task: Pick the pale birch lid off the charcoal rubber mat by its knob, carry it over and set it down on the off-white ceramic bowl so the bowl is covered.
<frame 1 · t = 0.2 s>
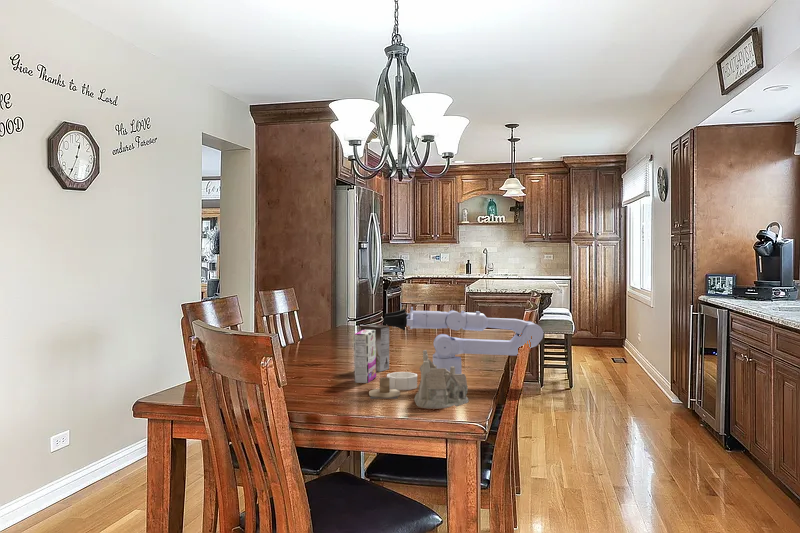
hand: (384, 318, 195), 21 cm above the table, fingers open, 7 cm apart
mat: (384, 395, 178), on the table
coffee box: (375, 369, 221), on the table
candy bar box: (365, 381, 201), on the table
lid: (384, 394, 178), resting on mat
bowl: (402, 387, 189), on the table
ceramic cottage: (441, 403, 170), on the table
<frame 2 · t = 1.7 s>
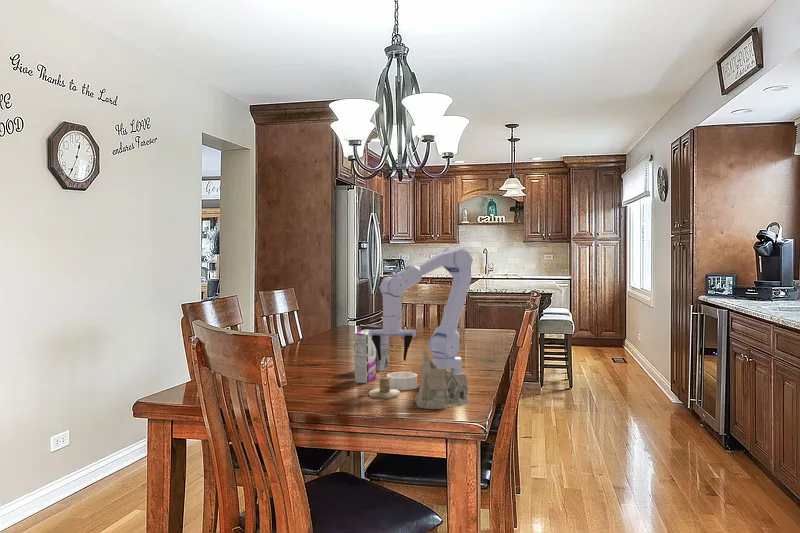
hand: (392, 359, 185), 9 cm above the table, fingers open, 7 cm apart
nothing on the table moved.
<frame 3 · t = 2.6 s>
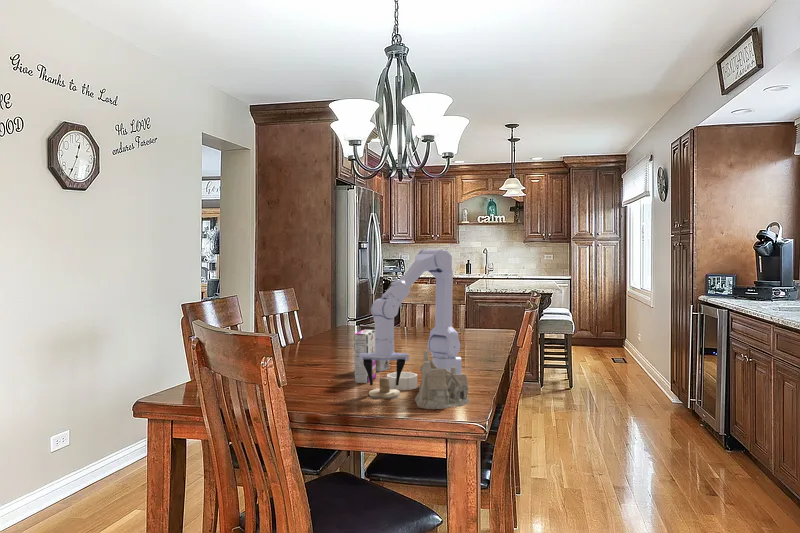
hand: (384, 384, 178), 3 cm above the table, fingers open, 7 cm apart
nothing on the table moved.
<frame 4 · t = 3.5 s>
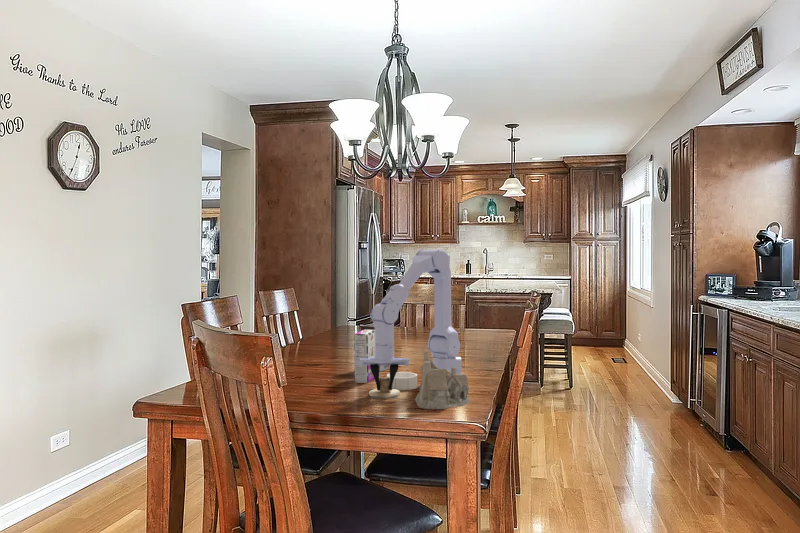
hand: (384, 389, 178), 2 cm above the table, fingers closed on lid, 3 cm apart
lid: (384, 394, 178), resting on mat, touching gripper
everything else where it was.
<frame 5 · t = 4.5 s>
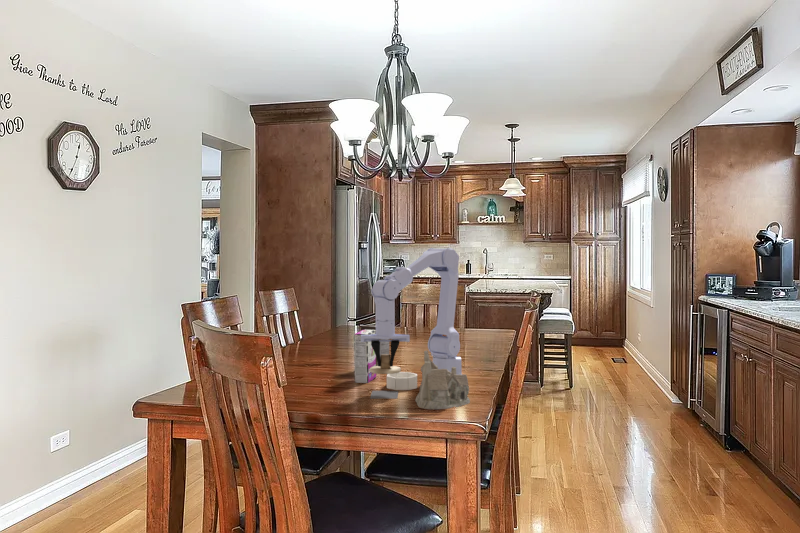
hand: (385, 365, 179), 9 cm above the table, fingers closed on lid, 3 cm apart
lid: (385, 370, 179), point 7 cm above the table, touching gripper
everything else where it was.
when the fingers open (7 cm above the table, at t = 5.8 s): lid stays where it is, resting on bowl.
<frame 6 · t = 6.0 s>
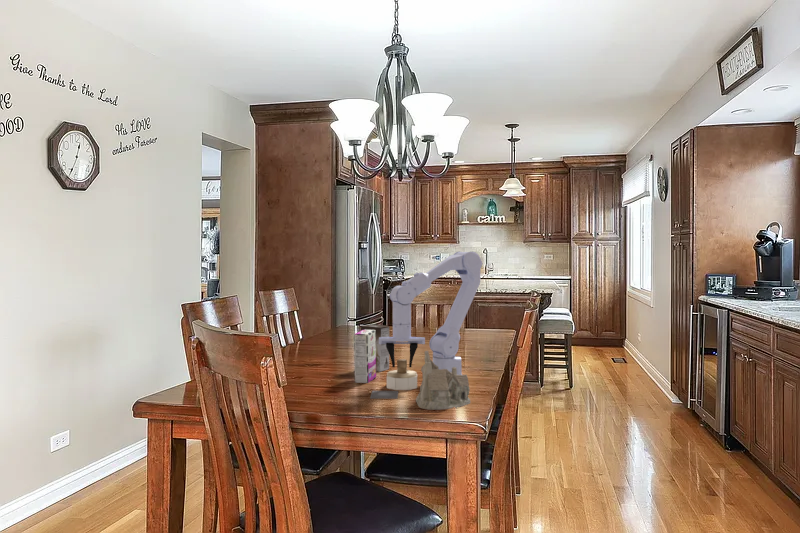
hand: (402, 366, 189), 7 cm above the table, fingers open, 5 cm apart
lid: (402, 375, 189), point 4 cm above the table, touching bowl
bowl: (402, 387, 189), on the table, touching lid
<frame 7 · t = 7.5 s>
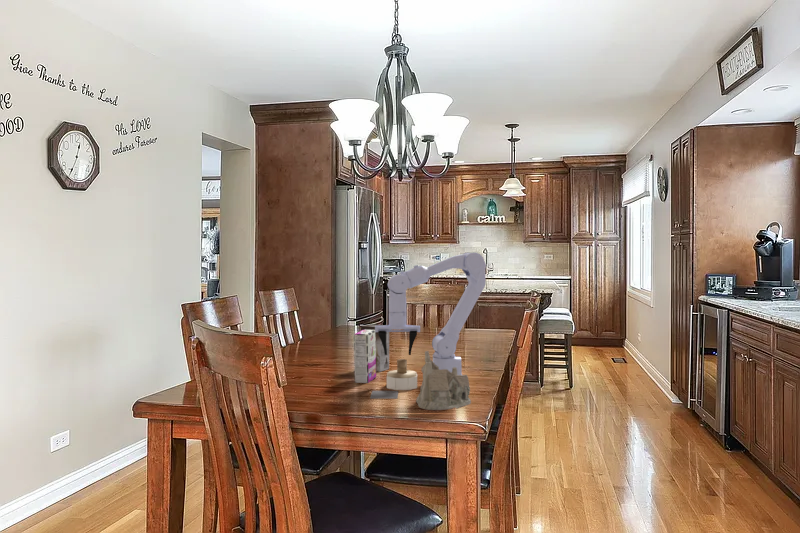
hand: (397, 354, 193), 10 cm above the table, fingers open, 7 cm apart
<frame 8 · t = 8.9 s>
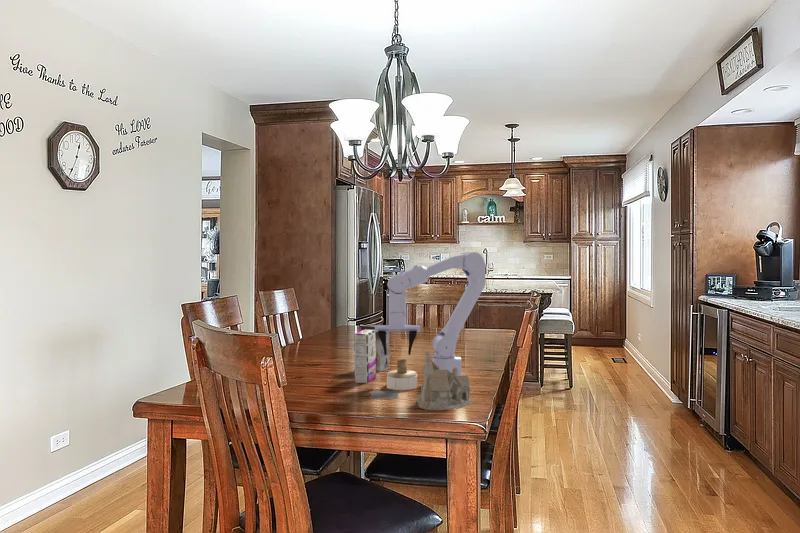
hand: (397, 354, 193), 10 cm above the table, fingers open, 7 cm apart
at the end: lid 0.3 cm off-centre on the bowl, point 4.0 cm above the bowl's base; lid tilted 0°; the gripper is holding nothing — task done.
